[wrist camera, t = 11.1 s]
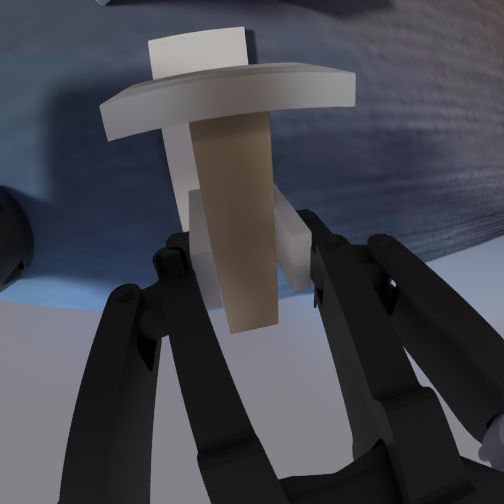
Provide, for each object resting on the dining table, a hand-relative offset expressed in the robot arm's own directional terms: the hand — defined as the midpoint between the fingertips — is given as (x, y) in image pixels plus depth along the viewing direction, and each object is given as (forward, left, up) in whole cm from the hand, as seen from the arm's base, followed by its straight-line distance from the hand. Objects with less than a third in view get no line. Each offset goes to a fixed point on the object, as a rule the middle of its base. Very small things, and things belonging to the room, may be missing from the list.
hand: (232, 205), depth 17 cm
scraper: (0, 0, 0) cm, 0 cm away
